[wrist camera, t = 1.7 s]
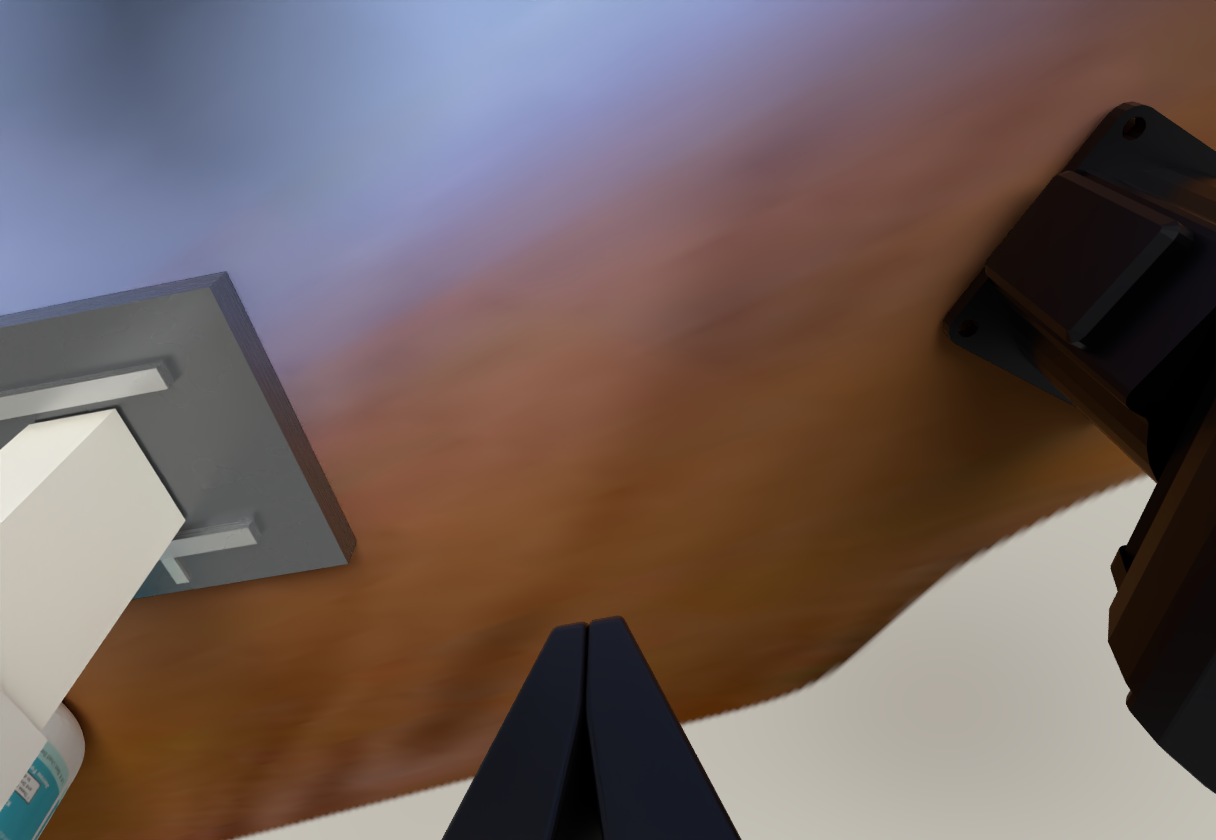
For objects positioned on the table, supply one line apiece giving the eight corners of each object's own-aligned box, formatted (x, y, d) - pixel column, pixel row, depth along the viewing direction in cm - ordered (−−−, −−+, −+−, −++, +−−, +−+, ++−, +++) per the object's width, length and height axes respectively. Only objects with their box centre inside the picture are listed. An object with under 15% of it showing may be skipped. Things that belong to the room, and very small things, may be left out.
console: (226, 271, 19) (202, 293, 18) (356, 541, 24) (344, 573, 23) (-278, 371, 20) (-332, 398, 19) (-57, 610, 25) (-89, 644, 24)
